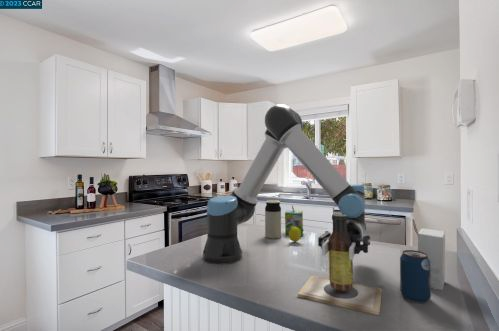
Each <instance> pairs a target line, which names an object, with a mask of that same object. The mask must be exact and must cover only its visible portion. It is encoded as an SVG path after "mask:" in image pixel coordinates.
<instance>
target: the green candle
mask: <svg viewBox="0 0 499 331" xmlns="http://www.w3.org/2000/svg"><path fill="white" fill-rule="evenodd" d="M291 209H292V210H285V213H284V217H285V218H284V224H285V225H284V227H285V228H284V230H285V234H284V235H285V236H289V231H290V229H291V228H292V227H294V226H296V225H300V226H301V227H302V228H303V229H304V227H303V226H304V223H303V222H304V219H303V212H304V211H303V210H295V209H294V206H293V204H291ZM289 223H294V224H293V225H292V226H290V227H289V228H286V226H287V225H288V224H289ZM296 227H297V226H296ZM300 232H301V236H303V235H304V230H303V231H302V230H300Z"/></svg>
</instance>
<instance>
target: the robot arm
mask: <svg viewBox="0 0 499 331" xmlns="http://www.w3.org/2000/svg"><path fill="white" fill-rule="evenodd" d="M264 125H265V127H266V130H265V132H264V137H265V140H264V141H263V144H261V147H260V148H259V150H258V152H257V154H256V156H255V158H254V159H253V161H252V163H251V165H250V167H249V168H248V170H247V171H246V174H245V176H244V178H243V179H242V181H241V183H240V185H239V186H238V187H235V188H234V189H233V190H232V192H231V194H230V195H220V196H213V197H211V198H210V199H208V201H207V207H206V212H207V213H206V219H207V220H206V223H207V224H206V229H207V232H206V233H207V238H206V241H205V245H204V248H203V251H202V260H203V261H204V262H207V263H210V264H213V265H226V264H232V263H235V262H239V261H240V260H242V258H243V251H242V247H241V245H240V242H239V238H238V225H241V224H243V223H246V222H248V221H249V220H250V219H251V218H252V217H253V216H254V214H255V211H256V205H257V204H258V202H259V201H258V195H259V193H260V191H261V190H262V188H263V186H264V185H265V183H266V181H267V179H268V177H269V176H270V175H271V172H272V171H273V169H274V167H275V165H276V163H277V162H278V160H279V158H280V157H281V155H282V153H283V151H284V150H285V149H287V148H288V150H289V151H290V152H291V153H292V155H293V156H294V157H295V158H296V159H297V160H298V161H299V162H300V164H301V165H302V166H303V167H304V168H305V169H306V170H307V172H308V173H309V174H310V175H311V176H312V178H314V180H315V181H316V182H317V183H318V184H319V185H320V187H321V188H322V189H323V190H324V192H326V194H327V195H328V196H329V197H330V199H332V201H333V202H334V203H335V205H336V206H337V207H338V210H339V212H340V214H344V215H347V232H348V234H349V237H350V240H351V243H352V245H351V246H350V248H349V259H350V260H353V259H354V257H355V255H360V253H361V252H362V253H364V254H368V252H369V246H370V245H371V236H370V235H364V234H365V232H366V230H367V223H366V212H365V209H366V202H365V201H366V200H365V196H366V192H365V186H364V185H363V184H350V183H349V182H348V181H347V179H345V177H344V176H343V175H342V174H341V173H340V172H339V171H338V169H337V168H336V167H335V166H334V165H333V164H332V162H330V160H329V159H328V158H327V157H326V156H325V155H324V153H322V151H321V150H320V149H319V148H318V147H317V146H316V145H315V144H314V142H313V141H312V140H311V139H310V138H309V136H308V135H306V133H305V132H304V131H303V127H304V126H303V121H302V117H301V116H300V114H299V113H298V112H296V111H295V110H293V109H292V108H291V107H290V106H287V105H286V104H276V105H275V104H274V105H273V106H271V107H270V108H269V109H268V110H267V112H266V113H265V116H264ZM331 234H332V232H331V231H328V230H326V231H324V233H323V234H321V235H320V236H318V238H317V241H318V243H317V245H318V247H320V249H321V256H324V257H325V256H326V255H327V254H328V253H329V237H330V236H331ZM361 242H362V244H361Z"/></svg>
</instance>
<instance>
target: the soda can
mask: <svg viewBox="0 0 499 331" xmlns="http://www.w3.org/2000/svg"><path fill="white" fill-rule="evenodd" d="M399 264H400V265H399V267H400V268H399V269H400V270H399V274H400V275H399V278H400V279H399V281H400V282H399V287H400V288H399V289H400V293H401V295H402V296H403V298H404V299H406V300H407V301H409V302H412V303H416V304H426V303H428V301H429V300H430V299H431V298H432V295H431V294H432V292H431V290H432V288H431V280H430V260H429V259H428V255H427V254H426V253H423V252H420V251H418V250H413V249H405V250H403V251H402V254H401V255H400V257H399Z"/></svg>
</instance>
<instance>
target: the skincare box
mask: <svg viewBox="0 0 499 331" xmlns="http://www.w3.org/2000/svg"><path fill="white" fill-rule="evenodd" d="M417 251H420V252H423V253H426V254H427V255H428V259H429V260H430V280H431V289H434V290H440V291H443V290H444V286H445V273H446V272H445V269H446V268H445V266H446V265H445V264H446V261H445V260H446V231H445V230H439V229H438V230H437V229H431V228H430V229H429V228H423V227H422V228H421V229H420V230H419V231H418V233H417Z"/></svg>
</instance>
